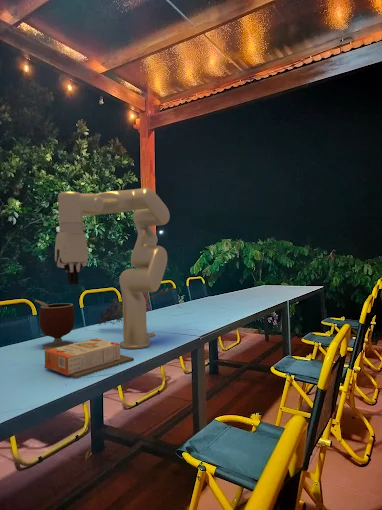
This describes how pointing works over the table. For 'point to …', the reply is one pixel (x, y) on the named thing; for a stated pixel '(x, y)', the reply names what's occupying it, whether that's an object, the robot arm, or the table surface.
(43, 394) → the table surface
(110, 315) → the dried plant
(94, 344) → the cracker box
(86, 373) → the mat
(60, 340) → the mate gourd
